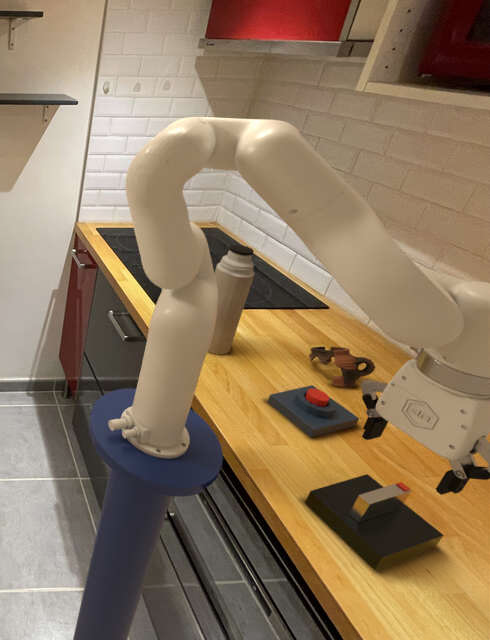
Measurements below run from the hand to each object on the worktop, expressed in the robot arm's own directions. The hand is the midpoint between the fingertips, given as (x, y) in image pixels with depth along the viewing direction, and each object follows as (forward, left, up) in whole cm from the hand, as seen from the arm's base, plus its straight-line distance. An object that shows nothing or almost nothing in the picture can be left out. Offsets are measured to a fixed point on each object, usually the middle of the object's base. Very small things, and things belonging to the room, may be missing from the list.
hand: (405, 462), depth 67 cm
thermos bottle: (+12, +46, -15) cm, 50 cm away
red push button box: (+14, +21, -15) cm, 30 cm away
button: (+14, +21, -11) cm, 28 cm away
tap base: (0, 0, -15) cm, 15 cm away
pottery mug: (+32, +29, -15) cm, 46 cm away
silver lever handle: (0, 0, -12) cm, 12 cm away
